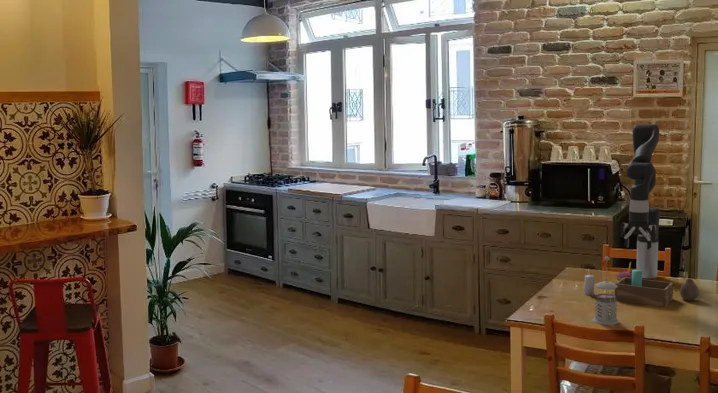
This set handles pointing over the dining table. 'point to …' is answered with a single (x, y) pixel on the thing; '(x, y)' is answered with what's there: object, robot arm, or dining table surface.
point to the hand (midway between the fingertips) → (637, 248)
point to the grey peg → (589, 285)
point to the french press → (606, 303)
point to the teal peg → (637, 278)
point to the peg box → (644, 292)
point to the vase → (689, 290)
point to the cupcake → (624, 274)
